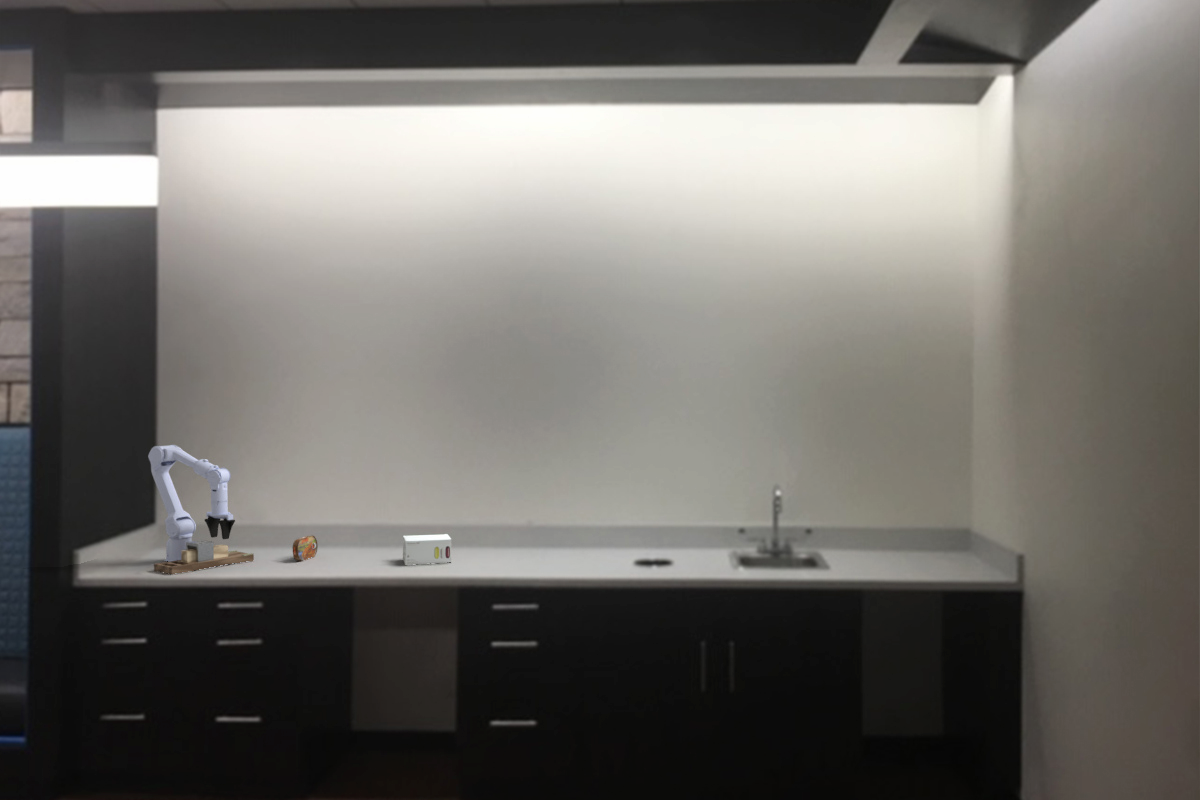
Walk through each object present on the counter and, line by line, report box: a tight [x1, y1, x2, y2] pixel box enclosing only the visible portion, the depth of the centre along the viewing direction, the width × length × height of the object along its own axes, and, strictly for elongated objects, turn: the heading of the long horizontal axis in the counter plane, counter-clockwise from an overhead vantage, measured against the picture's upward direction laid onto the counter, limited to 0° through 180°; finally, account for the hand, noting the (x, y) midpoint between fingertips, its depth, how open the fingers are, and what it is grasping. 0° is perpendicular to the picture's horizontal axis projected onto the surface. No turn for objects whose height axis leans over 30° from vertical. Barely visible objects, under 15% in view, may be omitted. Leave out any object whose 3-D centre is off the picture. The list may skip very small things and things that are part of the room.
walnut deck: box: [153, 550, 255, 575], centre depth 355 cm, size 12×32×3 cm, turn 143°
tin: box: [292, 534, 319, 562], centre depth 368 cm, size 15×3×8 cm, turn 168°
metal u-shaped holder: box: [186, 539, 215, 562], centre depth 353 cm, size 8×6×6 cm
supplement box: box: [402, 533, 452, 566], centre depth 361 cm, size 17×13×9 cm
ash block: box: [181, 544, 229, 563], centre depth 355 cm, size 4×16×4 cm, turn 143°
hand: (219, 538), depth 359 cm, fingers open, 7 cm apart
